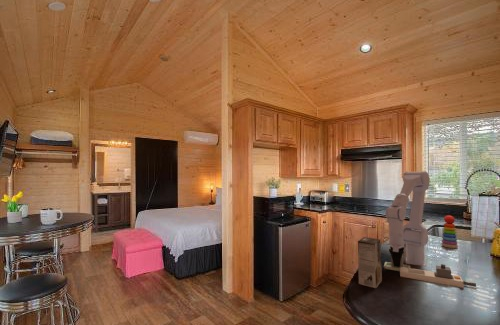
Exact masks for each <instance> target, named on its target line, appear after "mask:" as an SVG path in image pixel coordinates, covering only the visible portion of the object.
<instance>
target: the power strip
mask: <svg viewBox="0 0 500 325" xmlns="http://www.w3.org/2000/svg"><path fill="white" fill-rule="evenodd" d="M399 275H400V278H407V279H413V280H419V281H425V282H429V283H436V284H442V285H447V286H453V287H458V288H459V289H464V288H465V287H464V286H469V287H474V288H475V287H477V283H476V282H470V281H464V280H463V279H462V277H461V275H455V274H451V279H446V278H440V277H436V271H429V270H424V269H417V268H413V267H410V268H406V267H401V268H400V271H399Z"/></svg>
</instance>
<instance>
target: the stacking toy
mask: <svg viewBox="0 0 500 325" xmlns="http://www.w3.org/2000/svg"><path fill="white" fill-rule="evenodd" d="M443 220H444V222H445V223H444V224H443V230H442V232H443V233H442V237H441V238H442V239H441V246H442V247H444V248H448V249H449V248H450V249H457V248H458V247H459V245H458V238H457V231H456V225H455V224H454V223H455V222H456V219H455V217H454V216H452V215H445V216H444V219H443Z"/></svg>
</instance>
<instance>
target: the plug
mask: <svg viewBox="0 0 500 325" xmlns="http://www.w3.org/2000/svg"><path fill="white" fill-rule="evenodd" d="M403 256H404V254H403V255H402V257H401V262H400V267H396V266H394V264H393V260H392V256H391V255H390V262H391V267H396V268H401V267H403V264H404V257H403Z"/></svg>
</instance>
